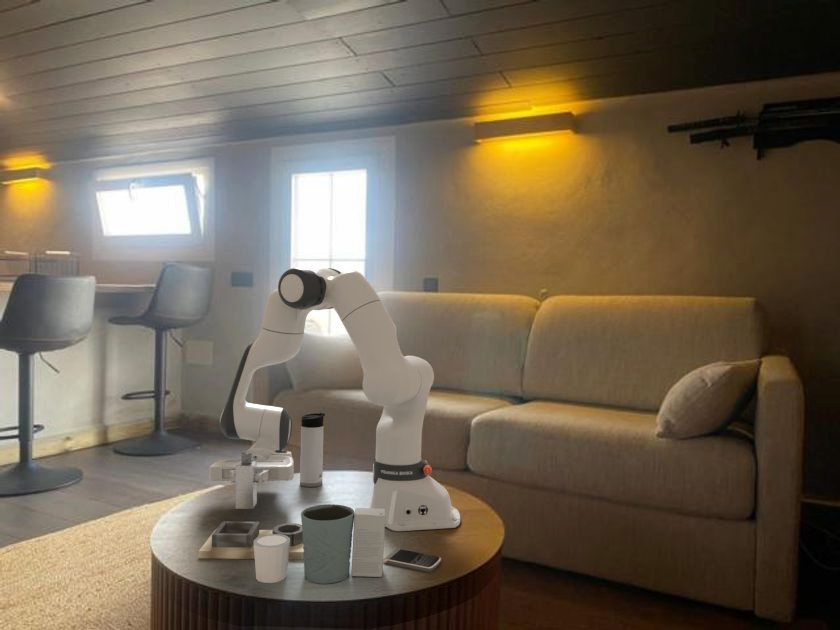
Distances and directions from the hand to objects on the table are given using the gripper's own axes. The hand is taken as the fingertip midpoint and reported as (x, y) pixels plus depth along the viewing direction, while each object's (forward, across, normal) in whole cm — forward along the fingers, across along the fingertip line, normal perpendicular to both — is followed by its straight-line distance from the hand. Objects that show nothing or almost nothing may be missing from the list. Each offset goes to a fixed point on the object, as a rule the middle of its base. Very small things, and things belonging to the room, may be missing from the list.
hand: (245, 479), depth 150 cm
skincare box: (+27, +30, +11) cm, 42 cm away
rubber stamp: (-1, 0, +7) cm, 7 cm away
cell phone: (+22, +38, +12) cm, 46 cm away
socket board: (+15, +6, +10) cm, 19 cm away
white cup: (+29, +12, +11) cm, 33 cm away
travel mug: (-31, +11, +10) cm, 35 cm away
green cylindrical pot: (+28, +22, +11) cm, 37 cm away
